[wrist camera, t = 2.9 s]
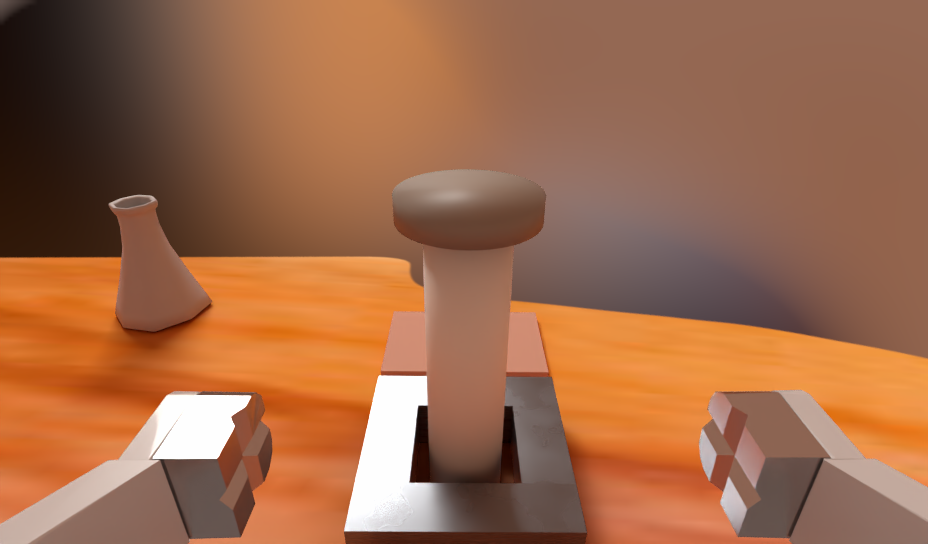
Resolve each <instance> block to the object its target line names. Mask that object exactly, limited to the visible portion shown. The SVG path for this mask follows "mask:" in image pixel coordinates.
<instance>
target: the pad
mask: <svg viewBox="0 0 928 544" xmlns="http://www.w3.org/2000/svg"><path fill="white" fill-rule="evenodd" d="M548 373H549V372H548V368H547V363H546V359H545V354H544V350H543V345H542V341H541V336H540V332H539V327H538V323H537V318H536V314H535V313H518V312H510V319H509V337H508V354H507V371H506V377H548ZM381 376H427V368H426V334H425V312H394V314H393V318H392V323H391V327H390V332H389V336H388V341H387V345H386V350H385V355H384V359H383V364H382V368H381Z"/></svg>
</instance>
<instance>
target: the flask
mask: <svg viewBox="0 0 928 544" xmlns="http://www.w3.org/2000/svg"><path fill="white" fill-rule="evenodd" d="M157 204H158V203H157V200H156V199H155V198H154V197H153V196H145V195H135V196H130V197H125V198H121V199H118V200H116V201H114V202H112V203H109V207H110V209H111V210H112V211H113V213H114V214H115V215H117V218H118V221H119V225H120V228H121V238H122V248H123V250H122V260H121V271H120V280H119V288H118V295H117V302H116V311H115V314H116V316H117V317H118V319H119V321H120V323H121V324H122V326H123V328H129V329H137V330H144V331H152V332H155V331H158V330H161V329H164V328H167V327H170V326H173V325H176V324H179V323H181V322H184V321H187V320H190V319H192V318H193V317H195V316H196V315H197V314H198V313H199V312H201V311H202V310H203V309H204V308H205V307H207V306H208V305H209V304H210V303H211V302H212V300H211V299H210V298H209V296H208V295H207V294H206V292H205V291H204V290H203V288H202V287H201V286H200V285H199V283H198V282H197V281H196V279H195V278H194V277H193V276H192V274H191V273H190V272H189V270H188V269H187V268H186V266H185V265H184V264H183V262H182V261H181V259H180V258H179V257H178V255H177V254H176V253H175V251H174V250H173V248H172V247H171V246H170V244H169V242H168V240H167V238H166V236H165V234H164V233H163V231H162V228H161V227H160V225H159V221H158V218H157V215H156V211H155V208H156V207H157Z"/></svg>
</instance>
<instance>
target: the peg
mask: <svg viewBox="0 0 928 544" xmlns="http://www.w3.org/2000/svg"><path fill="white" fill-rule="evenodd" d="M392 199H393V216H394V225H395V227H396V229H397V230H398V231H399V232H400V233H401V234H402V235H404V236H405V237H407V238H409V239H411V240H413V241H416V242H418V243H421V244H423V263H424V265H423V266H424V300H425V334H426V368H427V402H428V436H429V470H430V483H500V473H501V456H502V439H503V422H504V405H505V388H506V371H507V354H508V337H509V319H510V302H511V285H512V268H513V251H514V245H516V244H520V243H522V242H524V241H527V240H529V239H531V238H533V237H534V236H536V235H537V234H538V233H539V232H540V231H541V229H542V228H543V224H544V213H545V200H546V194H545V191H544V190H543V189H542V188H541V187H540V186H539V185H538V184H536V183H534V182H532V181H530V180H528V179H526V178H522V177H520V176H515V175H512V174H507V173H502V172H495V171H487V170H446V171H438V172H431V173H426V174H422V175H418V176H415V177H412V178H409V179H407V180H405V181H403V182H401V183H400V184H398V185H397V186H396V187H395V188H394V190H393V193H392Z"/></svg>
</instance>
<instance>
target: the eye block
mask: <svg viewBox="0 0 928 544" xmlns="http://www.w3.org/2000/svg"><path fill="white" fill-rule="evenodd" d="M419 443H429V436H428V402H427V376H379V377H378V381H377V386H376V390H375V395H374V399H373V404H372V408H371V413H370V417H369V422H368V426H367V430H366V435H365V439H364V444H363V448H362V453H361V457H360V462H359V466H358V471H357V475H356V480H355V484H354V489H353V493H352V498H351V502H350V507H349V511H348V516H347V520H346V525H345V529H344V534H345V541H346V544H585V542H586V536H587V530H586V525H585V521H584V517H583V512H582V508H581V503H580V499H579V495H578V490H577V486H576V482H575V477H574V473H573V468H572V464H571V460H570V455H569V451H568V447H567V442H566V438H565V433H564V429H563V425H562V420H561V416H560V412H559V407H558V403H557V398H556V394H555V390H554V385H553V381H552V377H506V388H505V405H504V422H503V439H502V443H510V447H511V456H512V466H513V476H514V483H416V472H417V462H418V452H419Z"/></svg>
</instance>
